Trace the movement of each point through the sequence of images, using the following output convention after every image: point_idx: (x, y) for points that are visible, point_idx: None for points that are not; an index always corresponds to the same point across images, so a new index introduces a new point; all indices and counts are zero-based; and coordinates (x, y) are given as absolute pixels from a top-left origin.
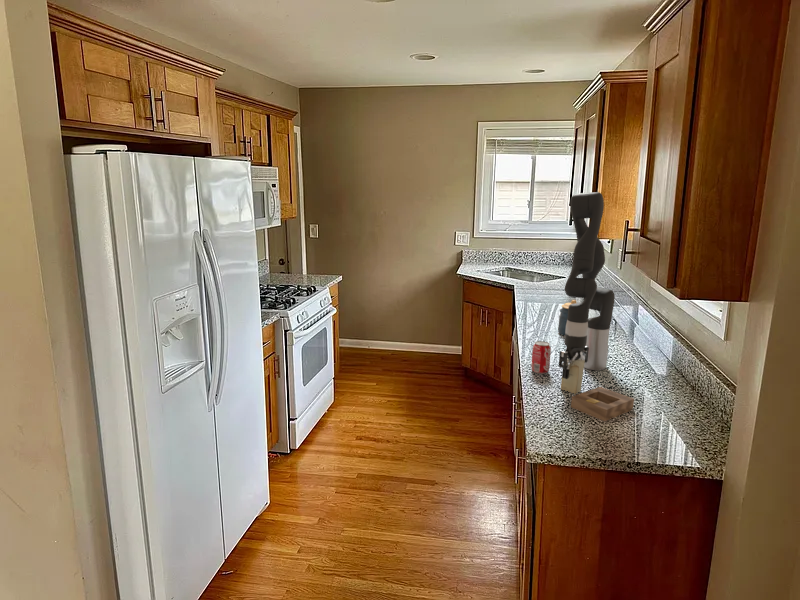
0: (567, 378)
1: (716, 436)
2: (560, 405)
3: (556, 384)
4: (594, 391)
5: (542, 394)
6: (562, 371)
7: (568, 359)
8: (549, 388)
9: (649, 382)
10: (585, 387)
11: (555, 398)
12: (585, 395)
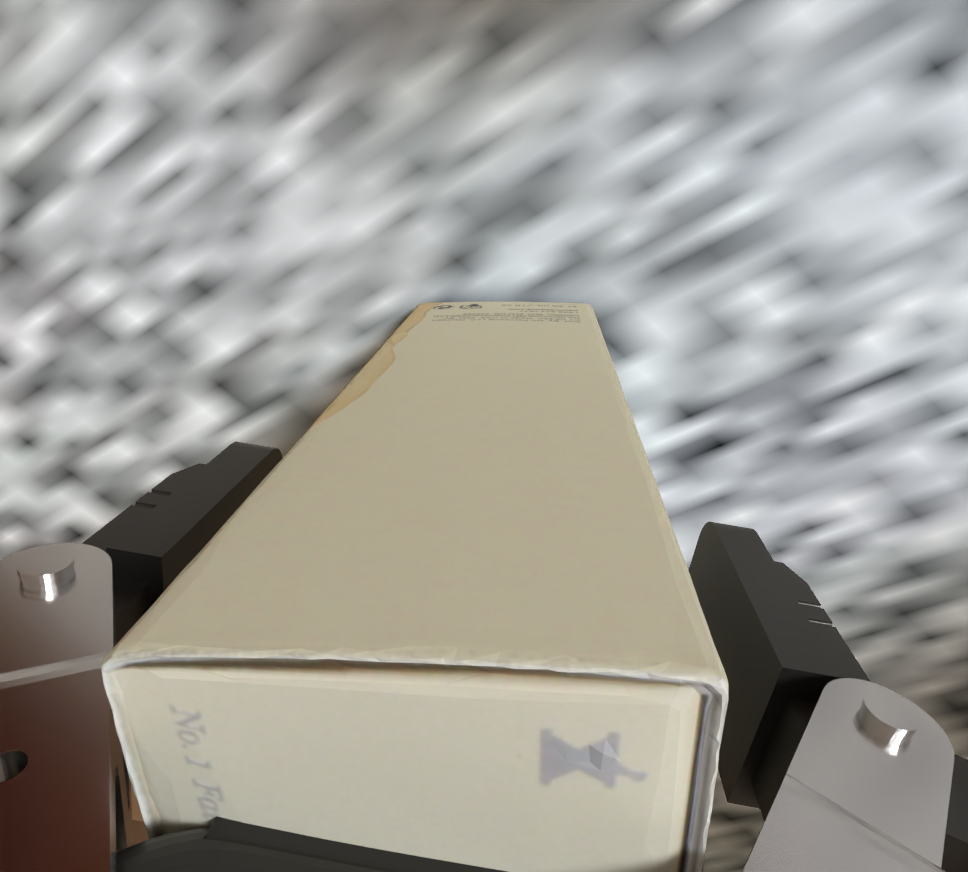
0: None
1: None
2: (7, 540)
3: (580, 131)
4: None
5: (50, 216)
6: (109, 522)
7: (181, 815)
8: (327, 152)
9: None
10: (778, 505)
11: (106, 410)
12: (132, 815)
